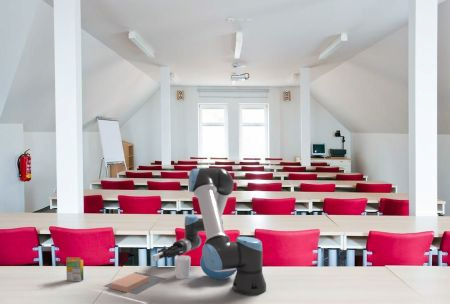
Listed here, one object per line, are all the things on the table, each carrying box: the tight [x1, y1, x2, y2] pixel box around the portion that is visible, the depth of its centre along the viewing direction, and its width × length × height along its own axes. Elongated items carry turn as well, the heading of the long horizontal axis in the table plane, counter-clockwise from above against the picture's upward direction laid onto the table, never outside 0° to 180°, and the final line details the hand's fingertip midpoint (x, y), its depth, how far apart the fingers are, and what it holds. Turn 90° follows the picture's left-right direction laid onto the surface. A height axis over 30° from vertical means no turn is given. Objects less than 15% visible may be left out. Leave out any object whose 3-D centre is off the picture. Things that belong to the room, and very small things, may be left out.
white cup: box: [174, 254, 192, 280], centre depth 195 cm, size 8×8×10 cm
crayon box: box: [65, 256, 84, 282], centre depth 193 cm, size 7×3×12 cm, turn 84°
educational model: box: [199, 254, 237, 280], centre depth 195 cm, size 16×19×15 cm
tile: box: [109, 272, 149, 293], centre depth 185 cm, size 10×2×15 cm
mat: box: [104, 271, 168, 295], centre depth 188 cm, size 20×22×1 cm
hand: (154, 258), depth 199 cm, fingers closed
